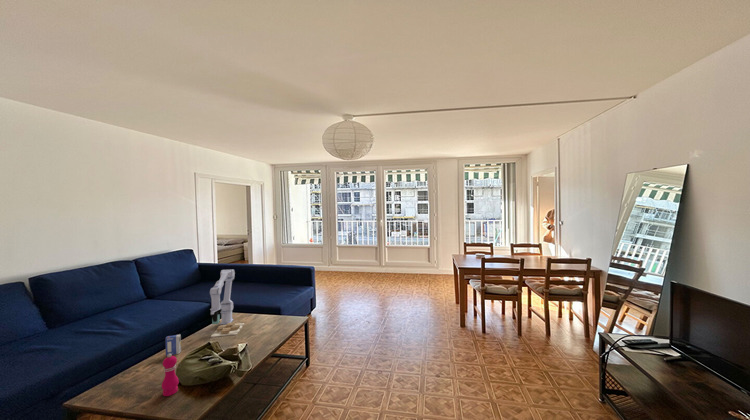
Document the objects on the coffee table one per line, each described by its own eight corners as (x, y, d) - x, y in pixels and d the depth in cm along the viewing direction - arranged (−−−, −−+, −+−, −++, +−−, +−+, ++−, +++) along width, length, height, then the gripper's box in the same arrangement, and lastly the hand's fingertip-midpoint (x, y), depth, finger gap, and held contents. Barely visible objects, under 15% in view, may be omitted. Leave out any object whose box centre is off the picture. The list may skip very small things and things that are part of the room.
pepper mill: (176, 386, 149) (175, 349, 149) (180, 391, 144) (180, 353, 144) (159, 393, 143) (159, 354, 143) (163, 399, 138) (163, 359, 138)
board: (220, 326, 226) (220, 322, 226) (244, 324, 230) (244, 320, 230) (210, 337, 207) (210, 333, 207) (236, 334, 210) (236, 330, 210)
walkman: (165, 355, 181) (165, 337, 181) (167, 353, 183) (166, 335, 183) (179, 353, 183) (179, 335, 183) (181, 351, 186) (180, 333, 186)
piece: (214, 322, 216) (214, 314, 216) (219, 321, 217) (219, 314, 217) (212, 324, 212) (212, 316, 212) (217, 323, 213) (217, 316, 213)
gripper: (214, 300, 221) (214, 317, 221) (206, 306, 207) (206, 324, 207) (223, 299, 222) (223, 316, 222) (216, 305, 208) (216, 323, 208)
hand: (216, 320), depth 215 cm, fingers closed on piece, 4 cm apart
